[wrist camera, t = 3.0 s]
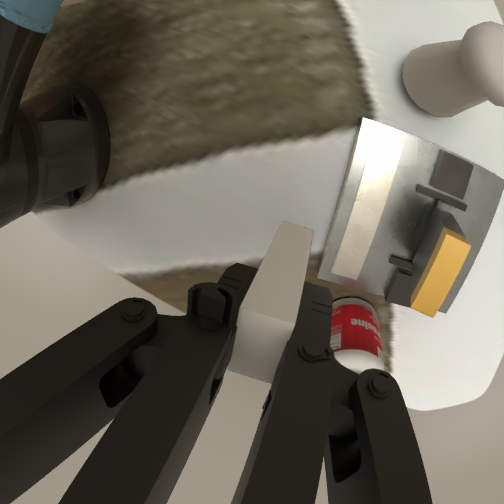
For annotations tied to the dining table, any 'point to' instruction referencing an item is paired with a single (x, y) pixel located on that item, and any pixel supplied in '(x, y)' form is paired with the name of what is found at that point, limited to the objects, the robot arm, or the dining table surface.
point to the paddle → (437, 260)
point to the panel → (402, 211)
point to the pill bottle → (356, 335)
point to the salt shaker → (458, 72)
